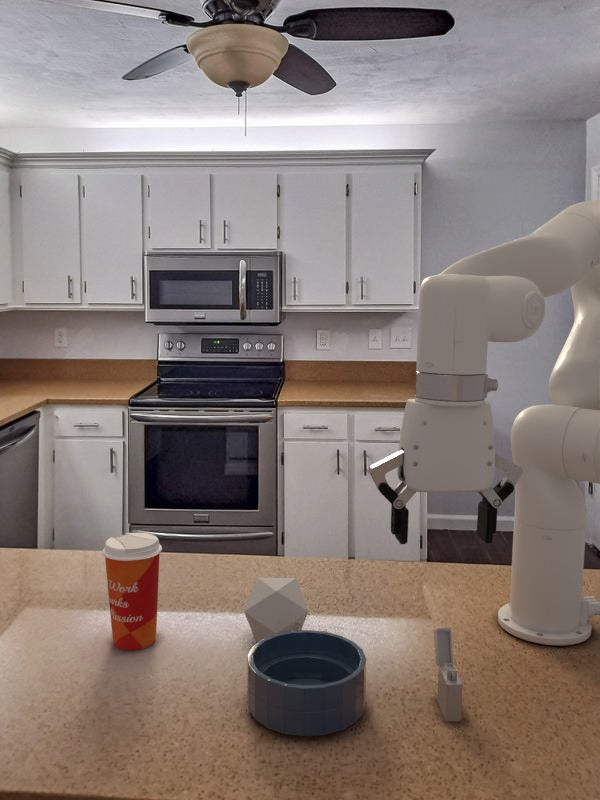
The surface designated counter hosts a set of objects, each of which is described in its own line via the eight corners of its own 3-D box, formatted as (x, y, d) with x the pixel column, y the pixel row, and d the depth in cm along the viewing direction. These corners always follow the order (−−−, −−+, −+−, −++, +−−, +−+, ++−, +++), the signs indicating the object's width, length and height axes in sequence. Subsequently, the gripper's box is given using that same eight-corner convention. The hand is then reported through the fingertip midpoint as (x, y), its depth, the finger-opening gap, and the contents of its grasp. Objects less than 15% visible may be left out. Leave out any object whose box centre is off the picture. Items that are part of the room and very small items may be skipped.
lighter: (461, 721, 80) (464, 652, 79) (445, 721, 80) (448, 652, 79) (445, 687, 88) (448, 623, 86) (431, 687, 87) (433, 623, 86)
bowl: (352, 673, 90) (353, 627, 90) (375, 737, 77) (377, 684, 77) (245, 679, 89) (245, 632, 88) (250, 745, 76) (250, 691, 75)
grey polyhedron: (284, 666, 93) (325, 596, 95) (225, 627, 94) (267, 559, 96) (285, 657, 102) (322, 594, 104) (230, 622, 103) (269, 560, 105)
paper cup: (93, 640, 98) (90, 540, 96) (141, 622, 104) (139, 527, 102) (127, 660, 93) (124, 555, 91) (175, 640, 99) (174, 540, 97)
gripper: (512, 385, 85) (504, 528, 87) (365, 384, 83) (360, 530, 85) (540, 393, 77) (530, 549, 80) (379, 392, 76) (374, 552, 78)
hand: (442, 539), depth 82 cm, fingers open, 9 cm apart
